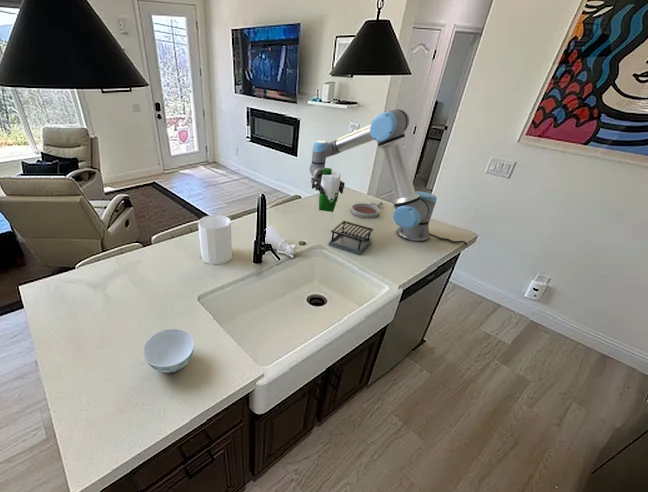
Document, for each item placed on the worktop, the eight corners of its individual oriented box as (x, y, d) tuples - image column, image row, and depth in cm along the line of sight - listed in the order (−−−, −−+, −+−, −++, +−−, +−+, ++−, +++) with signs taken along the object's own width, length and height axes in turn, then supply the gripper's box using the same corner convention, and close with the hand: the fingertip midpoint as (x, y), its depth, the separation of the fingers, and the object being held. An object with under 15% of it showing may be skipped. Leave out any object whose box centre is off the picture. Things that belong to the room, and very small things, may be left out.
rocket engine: (301, 240, 149) (271, 221, 156) (286, 260, 148) (257, 240, 156) (305, 248, 160) (277, 230, 167) (291, 267, 159) (263, 248, 166)
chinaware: (141, 384, 96) (136, 366, 92) (154, 345, 108) (150, 328, 104) (192, 384, 96) (189, 366, 92) (199, 345, 109) (197, 328, 104)
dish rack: (370, 242, 167) (373, 228, 163) (359, 255, 157) (362, 240, 153) (341, 233, 175) (343, 220, 171) (328, 245, 165) (330, 230, 161)
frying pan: (394, 204, 203) (370, 216, 187) (393, 209, 205) (369, 221, 188) (370, 196, 213) (345, 207, 197) (369, 201, 215) (344, 211, 199)
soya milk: (319, 204, 172) (324, 166, 161) (337, 206, 170) (342, 167, 158) (316, 210, 165) (321, 171, 154) (334, 213, 163) (340, 173, 152)
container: (233, 262, 151) (232, 227, 141) (202, 265, 148) (199, 230, 138) (229, 247, 163) (228, 213, 153) (200, 249, 160) (197, 216, 150)
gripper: (340, 182, 179) (353, 198, 160) (300, 183, 178) (309, 199, 159) (342, 168, 175) (355, 183, 156) (301, 169, 173) (310, 183, 155)
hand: (332, 191), depth 157 cm, fingers closed on soya milk, 9 cm apart
